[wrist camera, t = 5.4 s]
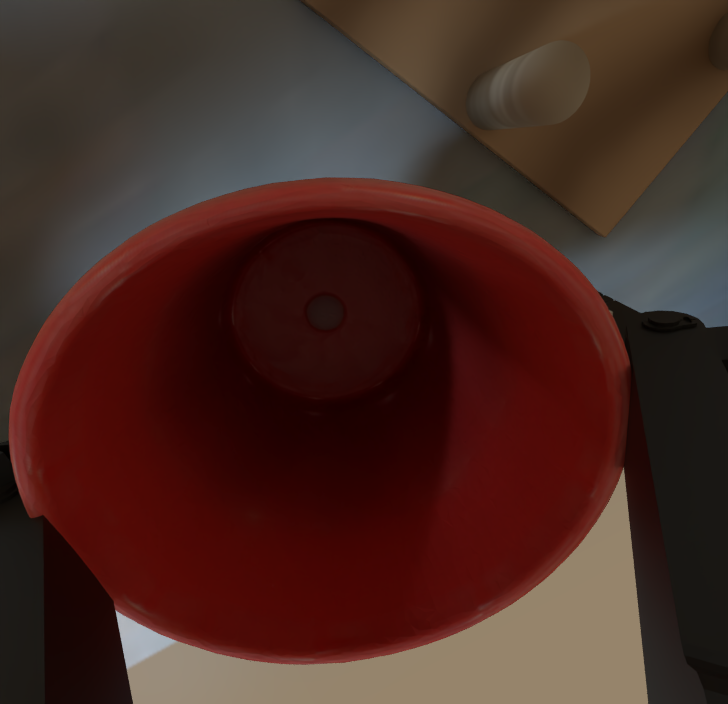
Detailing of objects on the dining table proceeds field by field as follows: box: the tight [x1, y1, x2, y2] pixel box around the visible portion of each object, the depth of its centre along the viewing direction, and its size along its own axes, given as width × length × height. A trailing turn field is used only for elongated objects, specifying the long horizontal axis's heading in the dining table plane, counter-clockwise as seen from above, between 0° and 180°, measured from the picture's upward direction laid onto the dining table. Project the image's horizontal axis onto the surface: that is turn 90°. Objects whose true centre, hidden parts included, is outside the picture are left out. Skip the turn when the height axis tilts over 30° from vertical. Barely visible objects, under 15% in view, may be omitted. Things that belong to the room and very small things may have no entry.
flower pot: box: [9, 178, 632, 665], centre depth 12 cm, size 11×11×10 cm
